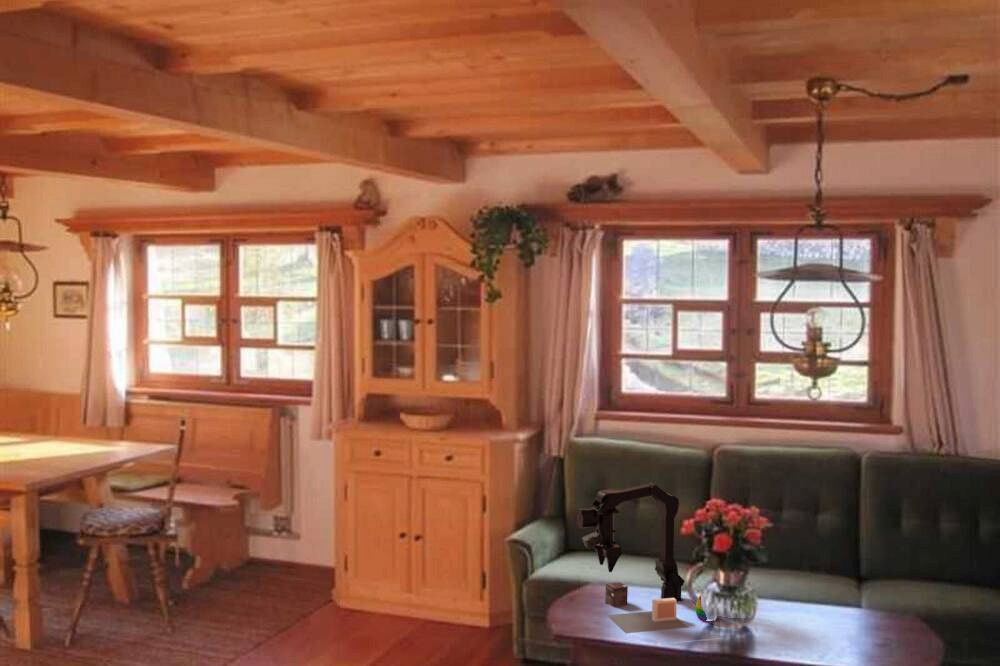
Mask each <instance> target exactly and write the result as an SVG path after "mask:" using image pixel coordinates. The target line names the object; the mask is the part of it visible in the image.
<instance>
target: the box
mask: <svg viewBox="0 0 1000 666" xmlns="http://www.w3.org/2000/svg"><path fill="white" fill-rule="evenodd" d="M628 588H629V587H628V585H626V584H624V583H621V582H620V581H615V582H609V583H605V597H604V598H605V600H604V601H605V604H607V605H610V606H611V607H613V608H616V607H623V606H628V591H629V590H628Z"/></svg>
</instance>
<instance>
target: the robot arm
mask: <svg viewBox="0 0 1000 666" xmlns="http://www.w3.org/2000/svg"><path fill="white" fill-rule="evenodd" d="M646 497H652V498H653V499H654V500H655V501H656V502H657V507H658V508H657V509H658V512H659V514H660V517H661V522H660V523H661V525H660V526H661V527H660V529H661V533H660V535H661V536H660V538H661V539H660V556H659V557H658V559H657V558H656V559H655V561H654V563H655V568H654V570H655V571H656V575H658V577H659V578H660V581H661V582H662V586H661V588H660V590H661V591H660V592H661V594H660V599H665V598H675V599H676V600H677V602H683V601H684V599H683V598H682V587H683V586H684V583H685V580H684V578H683V577H681V576H680V574H679V569H678V563H677V562H676V559H675V558H676V557H675V519H676V516H677V515H678V512H679V509H680V508H679V507H680V500H679V498H678V497H677V496H675V495H674V494H670V493H668V492H666V491H664V490H663V489H661V488H660V487H659V486H658V485H657V484H655V483H652V482H648V483H646V484H642V485H636V486H631V487H627V488H624V489H623V488H622V489H602V490H599V491H598V492H597V494H595V499H594V500H593V502H592V504H590V507H589V508H579V510H578V511H579V512H578V513H577V516H576V524H577V526H578V528H579V529H587V528H595V532H592V533H589V534H586V535H584V536H582V537H581V539H582V542H583V545H584V547H586V548H587V549H592V548H594V549H595V551H596V554H597V555H596V556H597V558H598V559H597V560H598V562H599V565H600V566H602V565H604V563H605V559H606V564H607V570H608V571H607V572H608V573H612V572H613V570H614V569H615V567H616V564H617V562H618V561H619V559H620V557H621V556H622V555H623V548H622V547H621V546H619V545H618V544H617V543H616V542H617V541H616V540H615V539H614V538H615V536H614V535H615V533H617V531H616V530H617V529H615V528H614V527H615V519H614V518H615V516H614V514H615V515H616V514H620V511H619V510H618V509H617V507H618V506H619V505H621V504H623V503H624V502H629V501H633V500H637V499H638V500H639V499H641V498H646Z"/></svg>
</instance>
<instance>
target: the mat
mask: <svg viewBox="0 0 1000 666" xmlns="http://www.w3.org/2000/svg"><path fill="white" fill-rule="evenodd" d="M606 616H607V618H609V620H611V621H612V623H614V624H615V625H616V626H617V627H618V628H619V629H620V630H622V632H624V633H625V634H631V633H641V632H643V633H645V632H652V631H654V632H655V631H663V630H676V629H685V628H689V626H688V625H687V624H686V623H684V622H683V621H682V620H680V619H679V618H678V617H676V620H669V621H658V622H655V621H654V620H652V611H651V610H650V611H640V612H639V611H638V612H630V613H629V612H627V613H615V614H606Z"/></svg>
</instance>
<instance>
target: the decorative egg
mask: <svg viewBox="0 0 1000 666" xmlns="http://www.w3.org/2000/svg"><path fill="white" fill-rule="evenodd" d="M695 603H696V604H695V614H696V617H697V618H698V620H699V619H700V621H701V620H702V621H701V622H704V621H706V620H707V617H706V614H705V612H704V611H703V609H702V607H701V595H700V596H699V597H698V599H697V601H696V602H695Z"/></svg>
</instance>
